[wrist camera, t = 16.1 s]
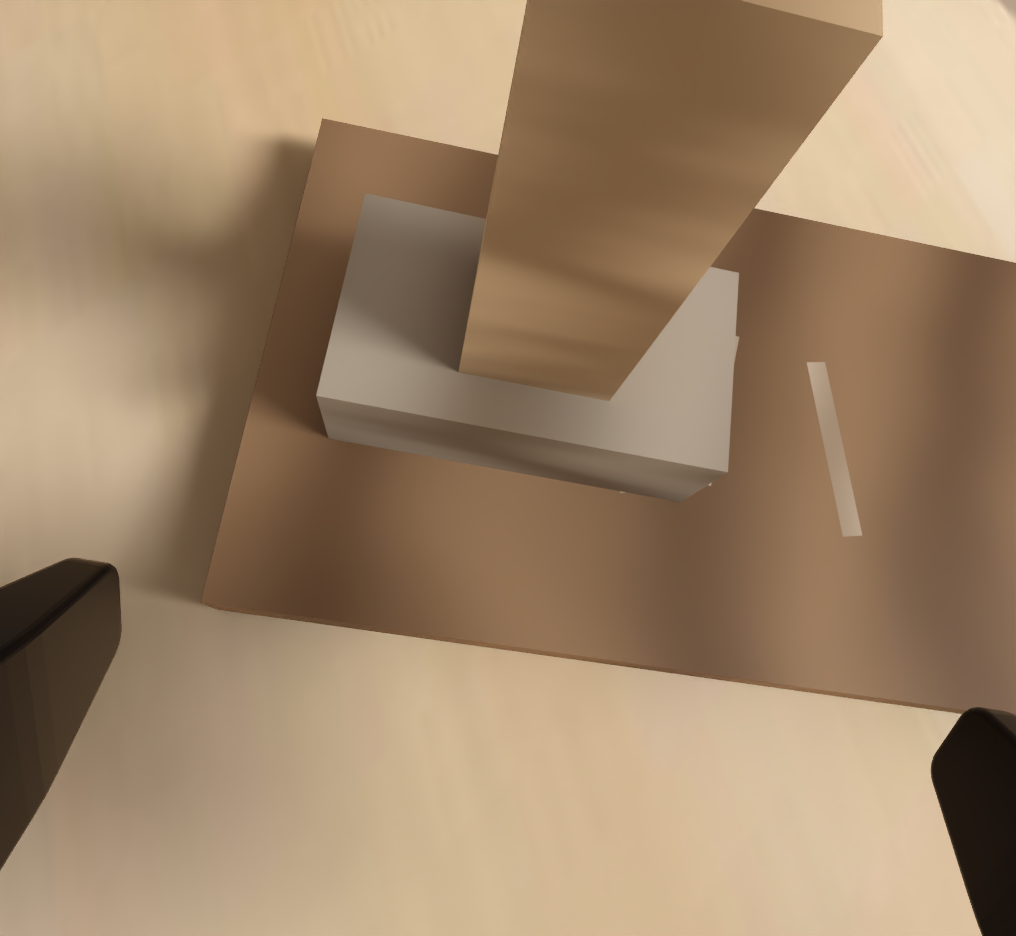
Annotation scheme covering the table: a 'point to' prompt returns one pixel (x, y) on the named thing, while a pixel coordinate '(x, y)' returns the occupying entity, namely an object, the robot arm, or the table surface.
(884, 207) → the table surface
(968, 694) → the walnut board
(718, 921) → the table surface
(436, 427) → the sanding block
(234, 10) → the table surface
